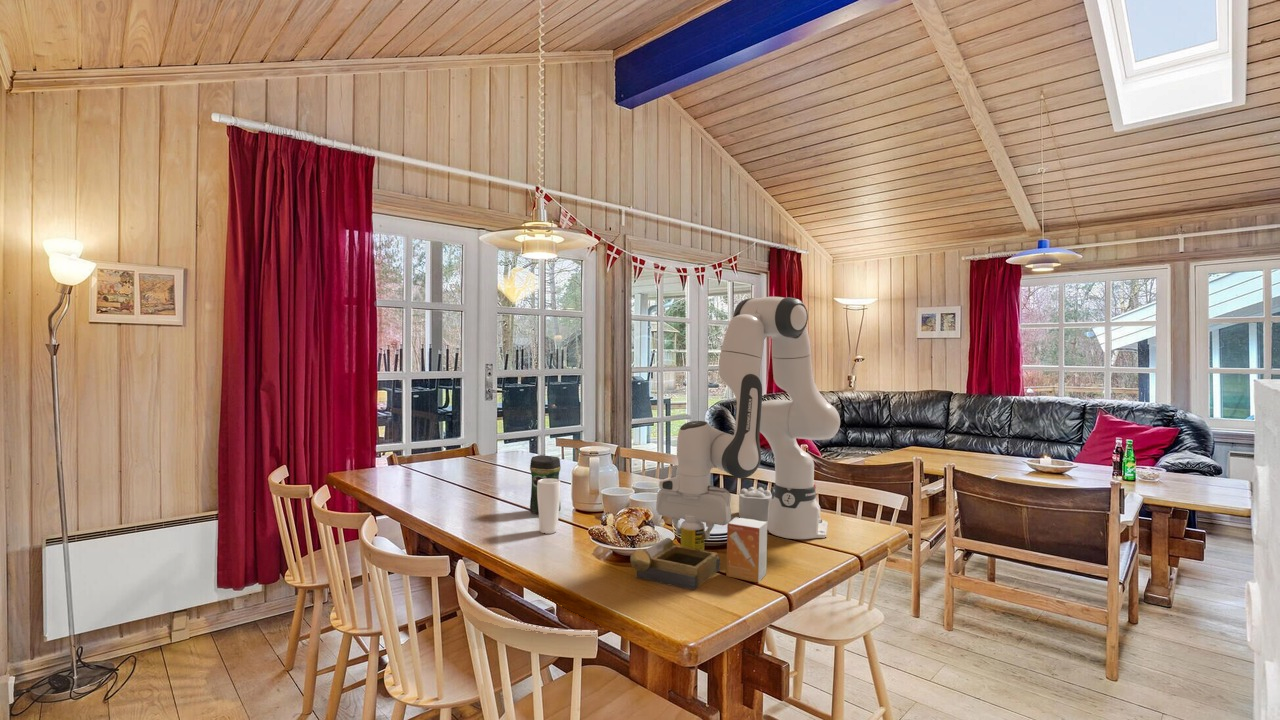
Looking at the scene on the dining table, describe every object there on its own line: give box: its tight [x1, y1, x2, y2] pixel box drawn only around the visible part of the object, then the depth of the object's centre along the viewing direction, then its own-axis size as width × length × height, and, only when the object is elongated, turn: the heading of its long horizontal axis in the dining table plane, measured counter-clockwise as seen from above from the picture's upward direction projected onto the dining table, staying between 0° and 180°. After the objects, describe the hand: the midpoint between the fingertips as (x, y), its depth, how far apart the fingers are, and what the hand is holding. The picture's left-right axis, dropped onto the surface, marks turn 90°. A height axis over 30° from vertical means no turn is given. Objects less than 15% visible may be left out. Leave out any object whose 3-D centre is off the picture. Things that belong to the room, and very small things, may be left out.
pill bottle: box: [680, 515, 706, 551], centre depth 162 cm, size 6×6×11 cm
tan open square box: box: [629, 537, 721, 591], centre depth 149 cm, size 16×16×7 cm
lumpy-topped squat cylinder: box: [738, 486, 773, 522], centre depth 201 cm, size 10×13×9 cm
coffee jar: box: [529, 454, 562, 515], centre depth 202 cm, size 10×8×19 cm
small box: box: [725, 516, 768, 583], centre depth 148 cm, size 8×6×13 cm
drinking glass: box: [537, 478, 562, 535], centre depth 182 cm, size 7×7×15 cm
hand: (692, 536), depth 162 cm, fingers closed on pill bottle, 6 cm apart
